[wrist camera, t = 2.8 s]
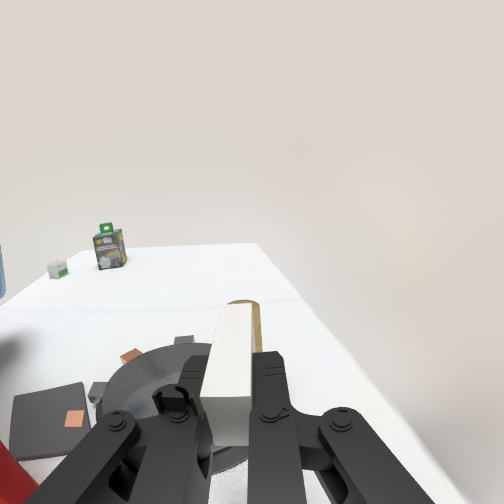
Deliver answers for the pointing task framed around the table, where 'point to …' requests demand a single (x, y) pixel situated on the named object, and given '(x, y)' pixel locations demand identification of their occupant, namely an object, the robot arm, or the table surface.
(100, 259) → the chalk box
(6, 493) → the paper cup
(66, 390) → the marked pad
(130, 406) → the sprocket
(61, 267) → the small box
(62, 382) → the table surface
